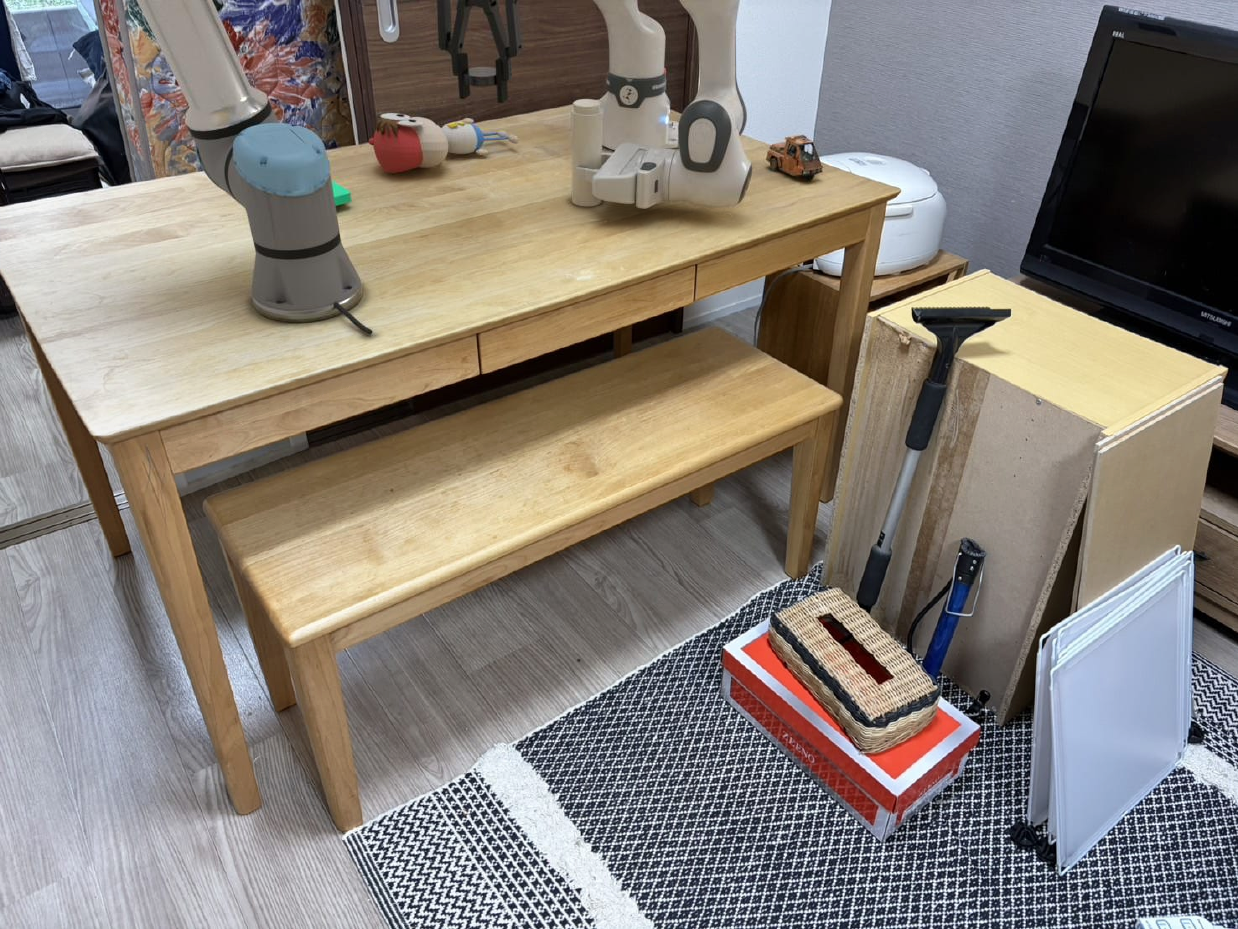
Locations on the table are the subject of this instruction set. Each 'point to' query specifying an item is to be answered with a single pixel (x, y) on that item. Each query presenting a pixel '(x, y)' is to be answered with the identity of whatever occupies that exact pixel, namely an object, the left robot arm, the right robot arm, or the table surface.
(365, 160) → the table surface
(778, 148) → the toy car
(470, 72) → the lid
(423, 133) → the toy
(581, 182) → the jar
